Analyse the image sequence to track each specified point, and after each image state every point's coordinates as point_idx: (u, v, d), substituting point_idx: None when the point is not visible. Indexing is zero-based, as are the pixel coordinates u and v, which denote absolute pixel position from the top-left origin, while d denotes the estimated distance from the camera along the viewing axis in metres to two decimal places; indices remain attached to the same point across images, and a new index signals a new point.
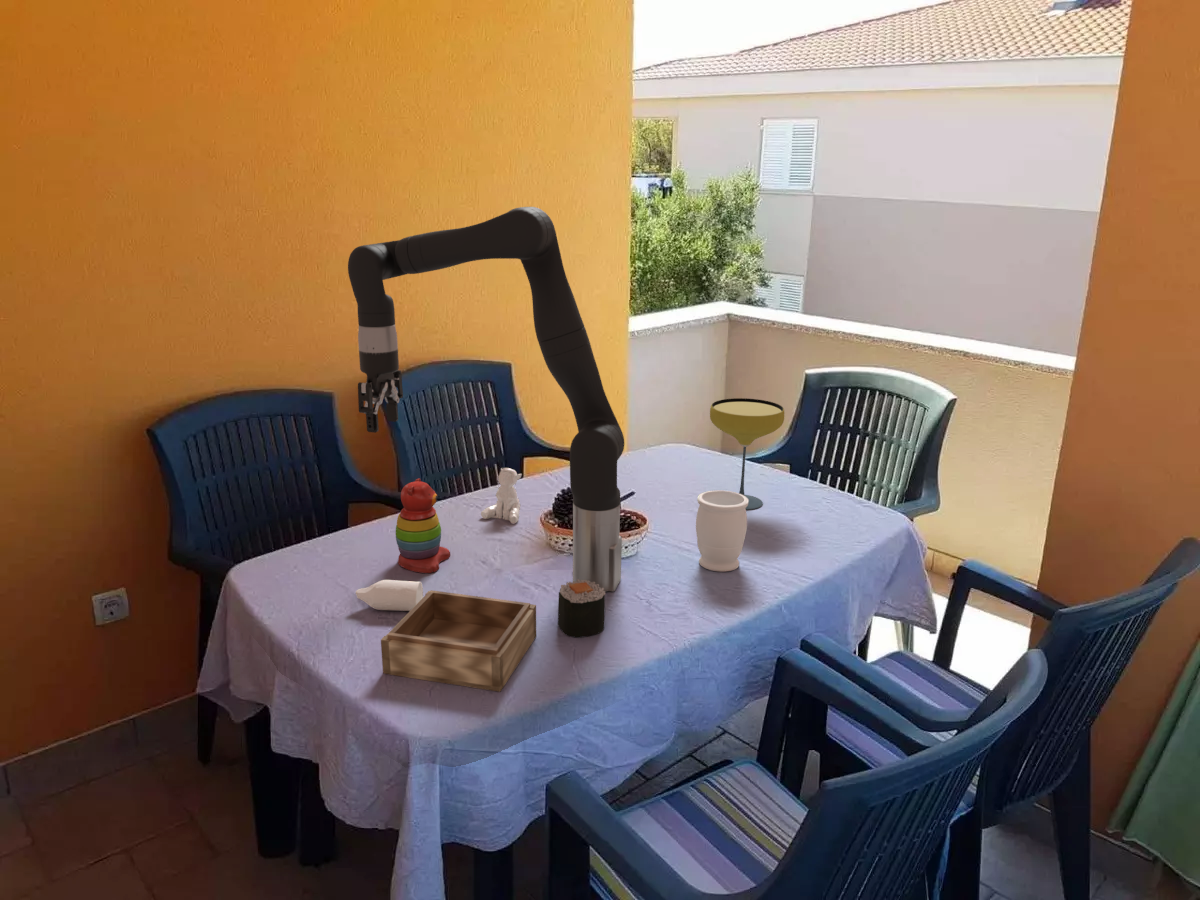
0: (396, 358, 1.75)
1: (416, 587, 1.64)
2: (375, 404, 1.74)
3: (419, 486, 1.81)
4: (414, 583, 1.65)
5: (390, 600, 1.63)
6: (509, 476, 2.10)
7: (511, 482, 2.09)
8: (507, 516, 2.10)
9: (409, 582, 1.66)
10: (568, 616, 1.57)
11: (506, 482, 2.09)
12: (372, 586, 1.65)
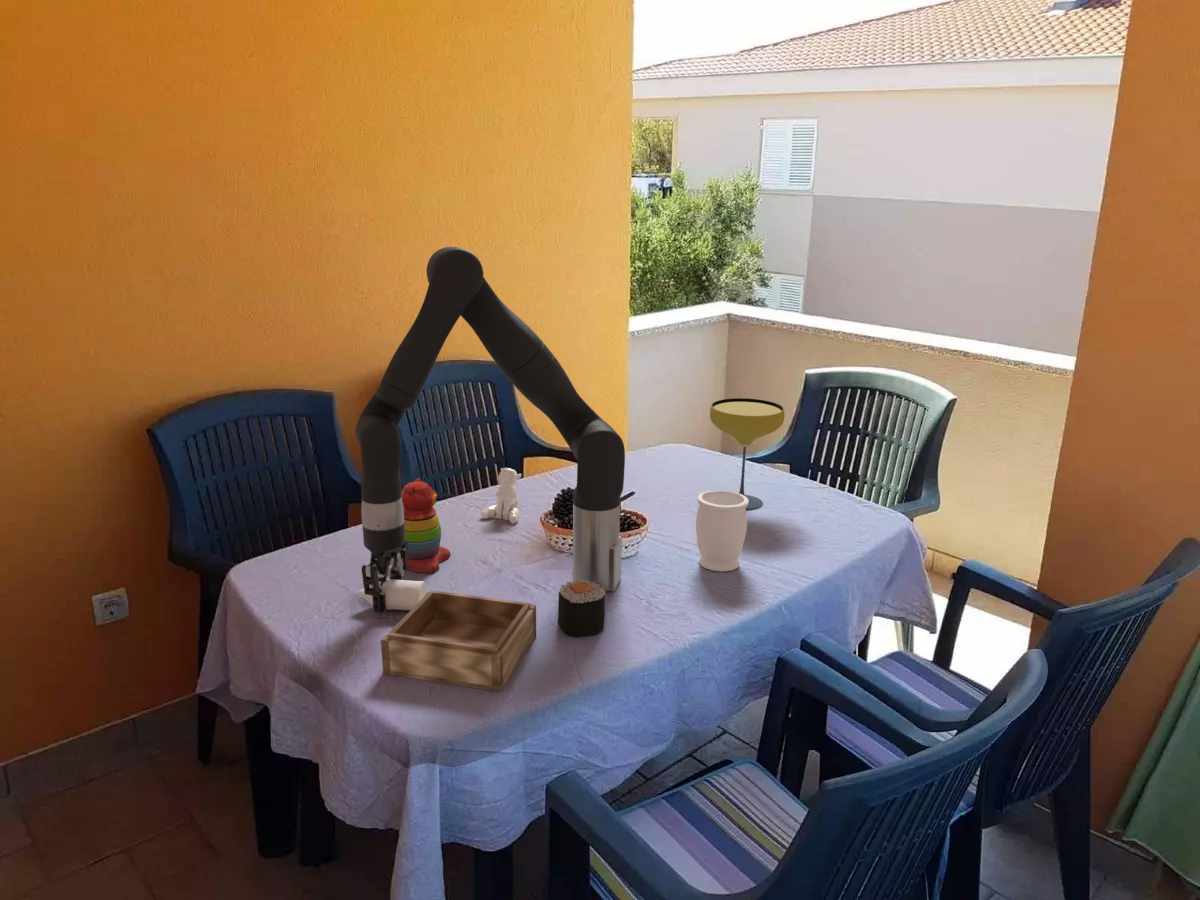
0: (402, 532, 1.62)
1: (419, 587, 1.64)
2: (382, 584, 1.61)
3: (419, 486, 1.81)
4: (417, 583, 1.65)
5: (393, 599, 1.63)
6: (509, 476, 2.10)
7: (511, 482, 2.09)
8: (507, 516, 2.10)
9: (412, 582, 1.65)
10: (568, 616, 1.57)
11: (506, 482, 2.09)
12: None
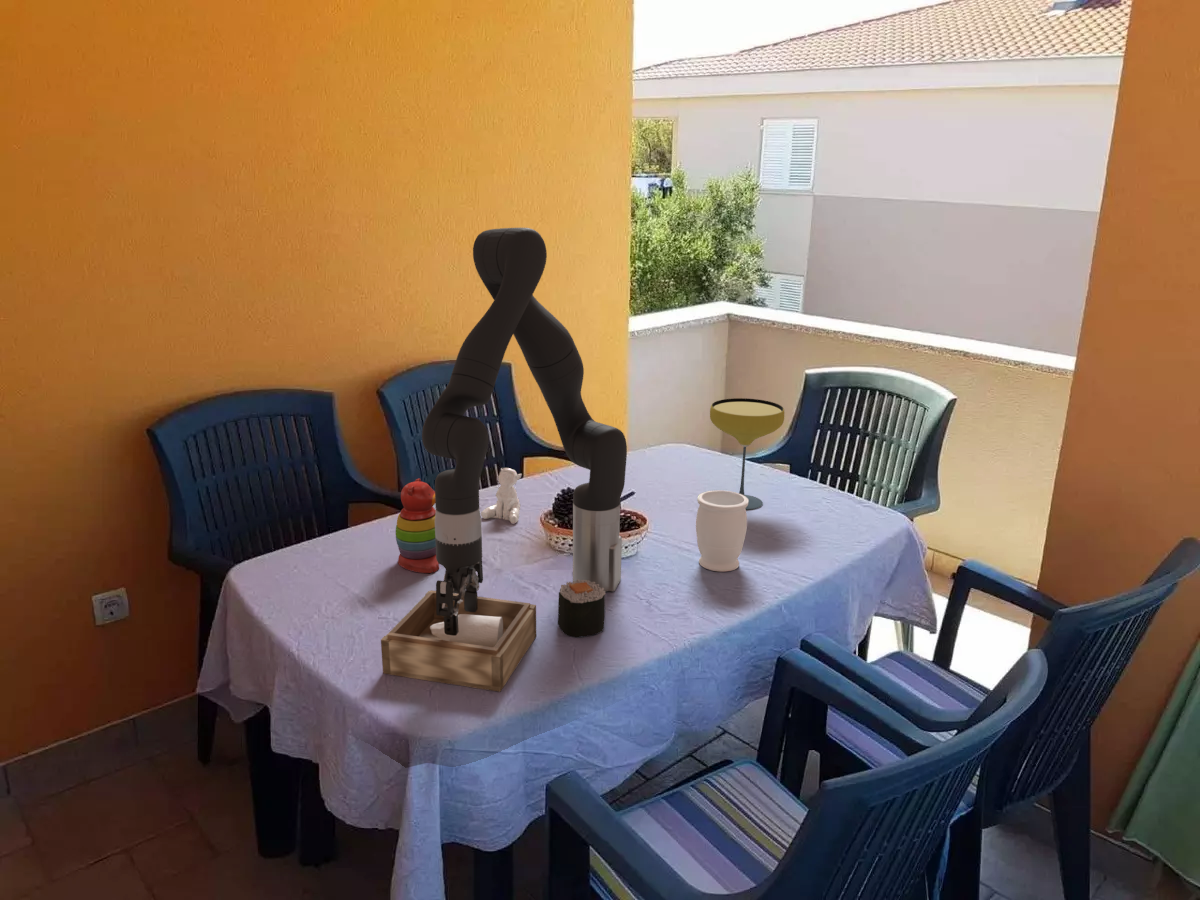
0: (480, 546, 1.45)
1: (497, 623, 1.48)
2: (455, 603, 1.44)
3: (419, 486, 1.81)
4: (495, 619, 1.49)
5: (468, 638, 1.47)
6: (509, 476, 2.10)
7: (511, 482, 2.09)
8: (507, 516, 2.10)
9: (489, 617, 1.49)
10: (568, 616, 1.57)
11: (506, 482, 2.09)
12: None
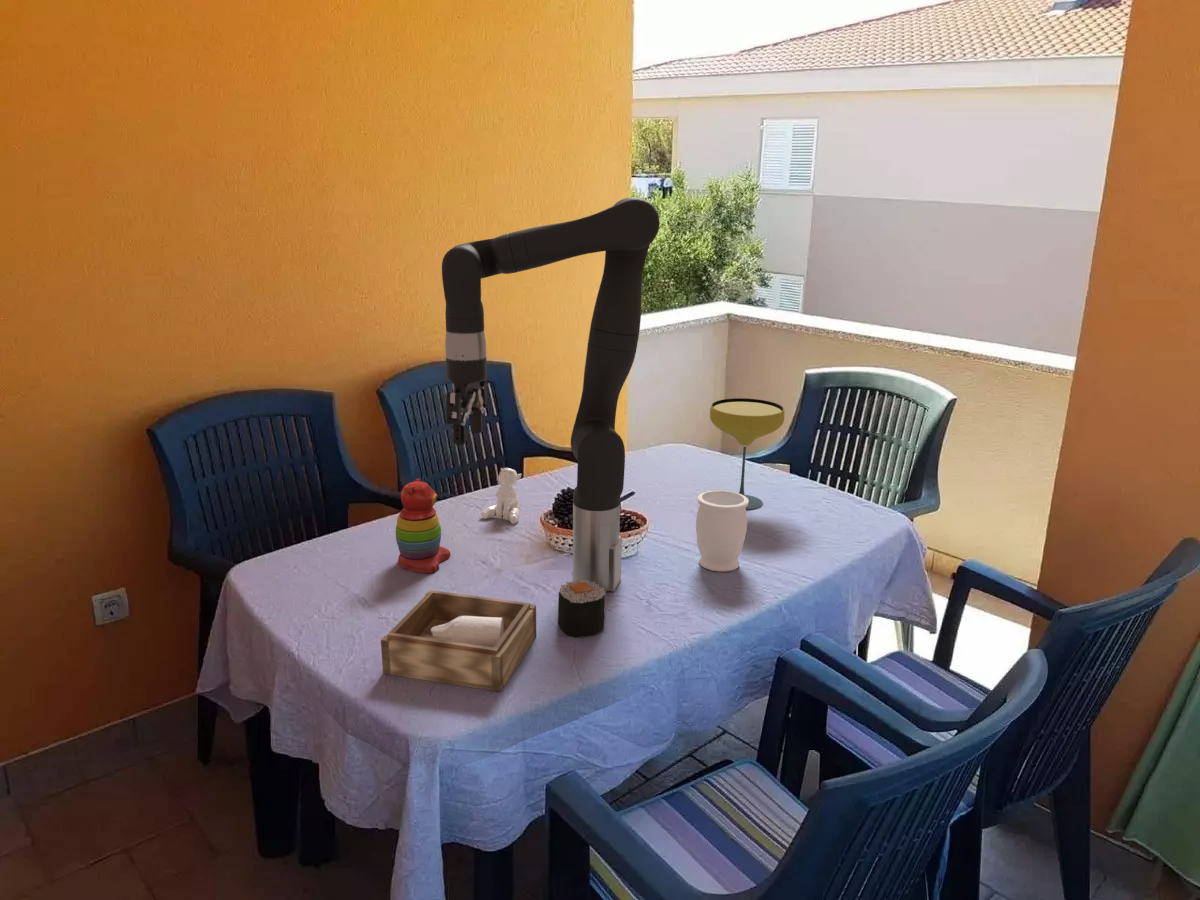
0: (485, 366, 1.65)
1: (499, 624, 1.48)
2: (463, 415, 1.64)
3: (419, 486, 1.81)
4: (496, 619, 1.49)
5: (471, 639, 1.47)
6: (509, 476, 2.10)
7: (511, 482, 2.09)
8: (507, 516, 2.10)
9: (490, 618, 1.49)
10: (568, 616, 1.57)
11: (506, 482, 2.09)
12: (449, 623, 1.48)
